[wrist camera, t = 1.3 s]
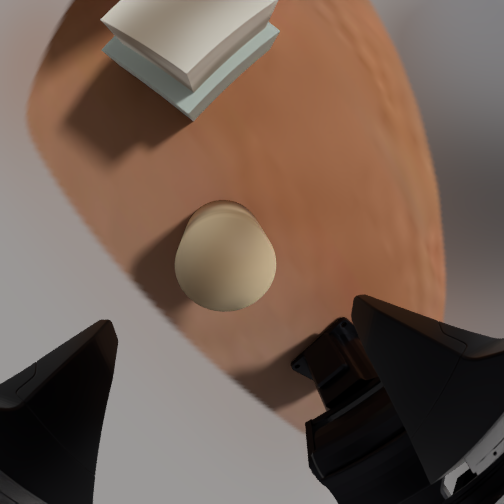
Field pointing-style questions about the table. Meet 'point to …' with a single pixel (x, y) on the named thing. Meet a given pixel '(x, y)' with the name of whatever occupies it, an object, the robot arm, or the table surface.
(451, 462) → the robot arm
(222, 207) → the maple cylinder
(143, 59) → the sage base block
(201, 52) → the cream top block
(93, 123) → the table surface
